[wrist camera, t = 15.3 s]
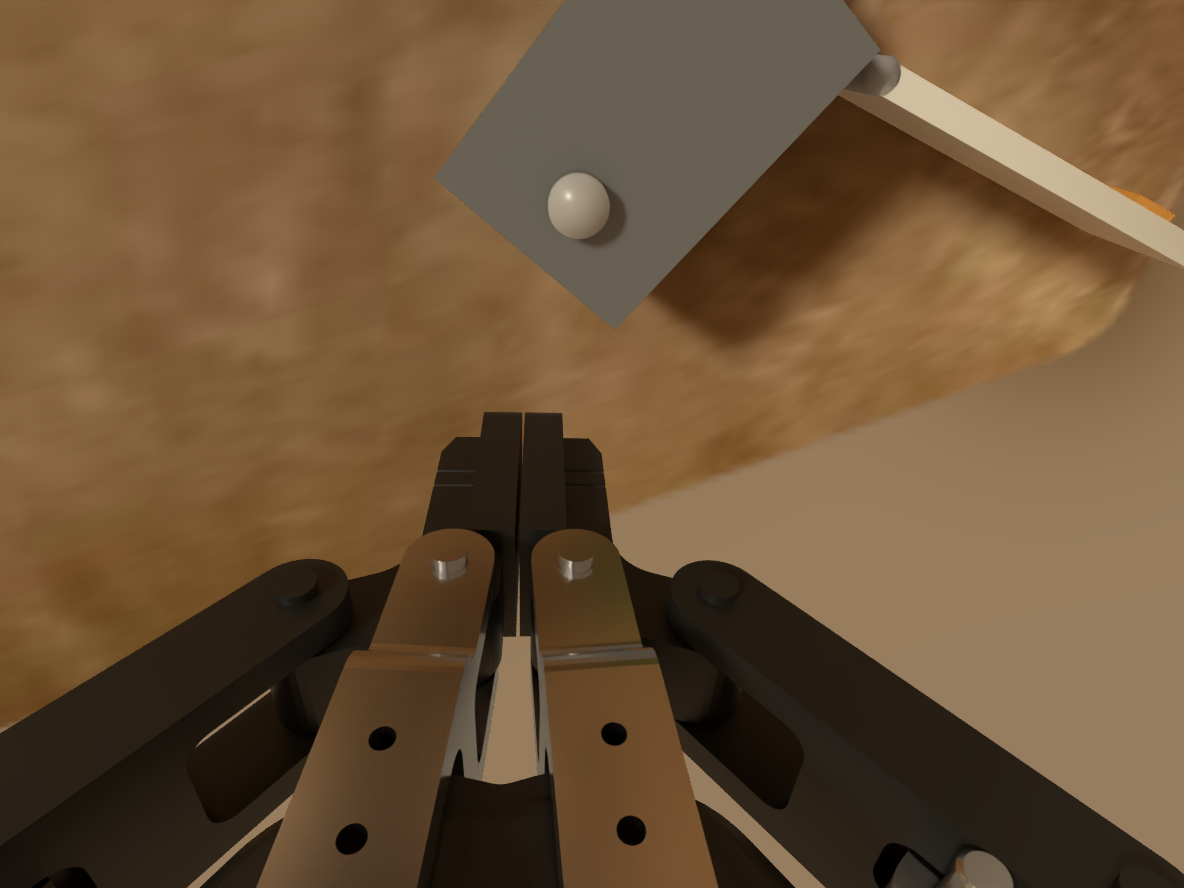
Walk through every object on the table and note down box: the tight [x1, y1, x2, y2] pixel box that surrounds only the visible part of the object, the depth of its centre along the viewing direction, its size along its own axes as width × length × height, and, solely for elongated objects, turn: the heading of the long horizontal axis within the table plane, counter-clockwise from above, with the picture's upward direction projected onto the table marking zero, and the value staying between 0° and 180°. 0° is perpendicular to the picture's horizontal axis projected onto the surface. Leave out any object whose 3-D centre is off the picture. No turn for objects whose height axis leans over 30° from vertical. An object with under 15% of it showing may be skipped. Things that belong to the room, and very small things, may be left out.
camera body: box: [435, 0, 881, 329], centre depth 25 cm, size 14×8×10 cm, turn 138°
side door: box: [838, 55, 1184, 270], centre depth 28 cm, size 17×2×7 cm, turn 66°
